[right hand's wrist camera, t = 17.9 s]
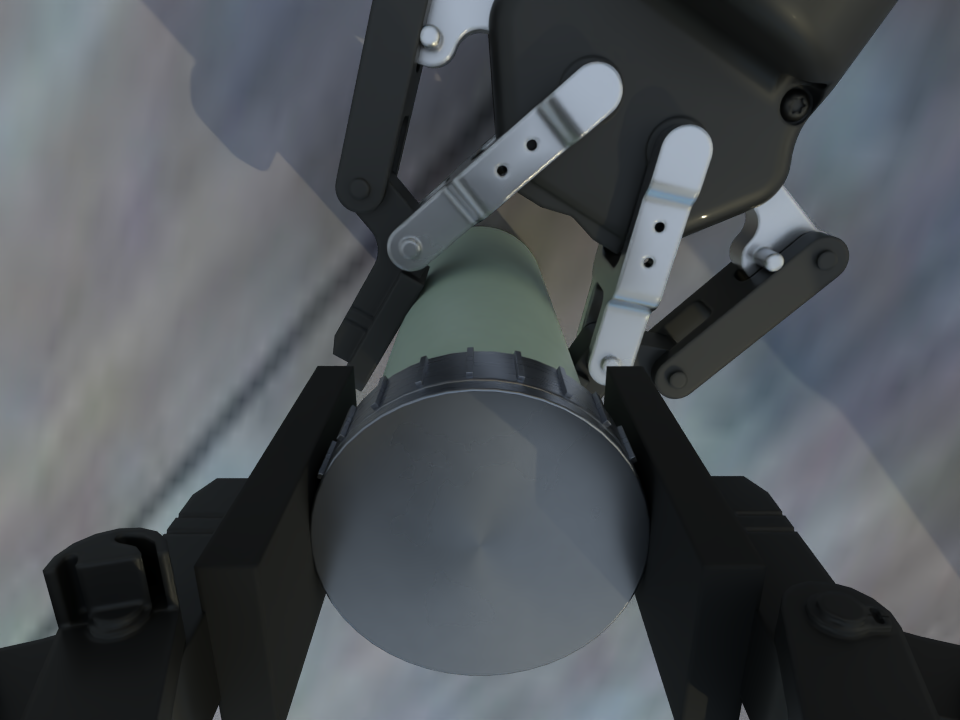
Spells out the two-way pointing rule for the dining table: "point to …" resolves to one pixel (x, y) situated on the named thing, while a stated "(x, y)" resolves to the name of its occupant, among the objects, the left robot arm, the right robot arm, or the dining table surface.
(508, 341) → the bottle
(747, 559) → the right robot arm
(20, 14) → the dining table surface
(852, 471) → the dining table surface
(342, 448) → the lid
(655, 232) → the left robot arm
